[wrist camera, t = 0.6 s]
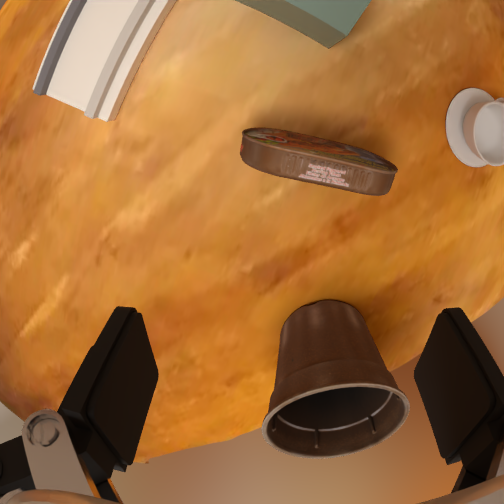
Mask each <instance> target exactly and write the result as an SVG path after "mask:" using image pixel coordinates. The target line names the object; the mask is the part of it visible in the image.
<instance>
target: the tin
mask: <svg viewBox="0 0 504 504" xmlns="http://www.w3.org/2000/svg"><path fill="white" fill-rule="evenodd" d="M242 135H243V138H242V144H241V150H240V155H241V158H242V160H243V161H244V162H245V163H246V164H247V165H249V166H251V167H253V168H255V169H257V170H259V171H262V172H265V173H268V174H272V175H275V176H279V177H284V178H289V179H294V180H299V181H304V182H309V183H314V184H318V185H323V186H328V187H333V188H337V189H342V190H346V191H351V192H356V193H361V194H366V195H374V196H380V195H385V194H387V193H388V192H389V190H390V188H391V186H392V183H393V180H394V177H395V174H396V172H397V171H398V169H397V167H396V166H395V165H394V164H392V163H391V162H389V161H387V160H386V159H384V158H382V157H380V156H378V155H376V154H373V153H371V152H369V151H366V150H363V149H360V148H357V147H353V146H350V145H346V144H342V143H338V142H334V141H330V140H325V139H321V138H317V137H312V136H308V135H303V134H299V133H294V132H288V131H283V130H277V129H268V128H250V129H246V130H243V132H242Z"/></svg>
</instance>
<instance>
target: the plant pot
mask: <svg viewBox="0 0 504 504" xmlns="http://www.w3.org/2000/svg"><path fill="white" fill-rule="evenodd" d="M409 409H410V407H409V402H408V399H407V397H406V395H405V394H404V393H403V392H402V391H401V390H400V389H399V388H398V386H397V384H396V382H395V380H394V378H393V376H392V375H391V373H390V372H389V371H388V370H387V368H386V366H385V364H384V362H383V360H382V358H381V356H380V353H379V351H378V349H377V347H376V345H375V343H374V340H373V338H372V336H371V334H370V332H369V330H368V328H367V326H366V323H365V321H364V319H363V317H362V315H361V314H360V313H359V311H358V310H357V309H355V308H354V307H352V306H350V305H349V304H346V303H343V302H339V301H333V300H323V301H318V302H317V303H315V304H313V305H309V306H303V307H301V308H299V309H298V310H296V311H295V312H294V313H292V314H291V315H290V317H289V318H288V319H287V320H286V322H285V323H284V325H283V327H282V330H281V334H280V346H279V354H278V363H277V371H276V379H275V387H274V391H273V393H272V395H271V398H270V403H269V410H268V413H267V415H266V416H265V418H264V420H263V424H262V434H263V437H264V439H265V441H266V442H267V443H268V444H269V445H270V446H272V447H273V448H275V449H276V450H278V451H280V452H283V453H285V454H288V455H292V456H296V457H302V458H316V459H320V458H333V457H340V456H345V455H349V454H352V453H356V452H360V451H362V450H365V449H368V448H371V447H373V446H375V445H377V444H379V443H381V442H382V441H384V440H386V439H387V438H389V437H390V436H391V435H392V434H394V433H395V432H396V431H397V430H398V429H399V428H400V427H401V426H402V425H403V423H404V422H405V420H406V418H407V416H408V414H409Z"/></svg>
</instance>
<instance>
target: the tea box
mask: <svg viewBox="0 0 504 504" xmlns="http://www.w3.org/2000/svg"><path fill="white" fill-rule="evenodd" d="M235 1H238V2H240V3H242V4H245V5H247V6H249V7H251V8H254V9H256V10H258V11H260V12H262V13H264V14H266V15H268V16H270V17H272V18H274V19H276V20H278V21H280V22H282V23H284V24H286V25H288V26H290V27H292V28H294V29H296V30H297V31H299V32H301V33H303V34H305V35H306V36H308V37H310V38H312V39H313V40H315V41H317V42H318V43H320V44H322V45H323V46H325V47H327V48H328V49H329V48H330V47H332V46H333V45H335V44H336V43H338V42H339V41H340V40H342V39H343V38H345V37H346V36H348V34H349V33H350V31H351V30H352V28H353V27H354V25H355V24H356V22H357V21H358V19H359V18H360V16H361V15H362V13H363V12H364V10H365V9H366V7H367V6H368V4H369V3H370V1H371V0H235Z"/></svg>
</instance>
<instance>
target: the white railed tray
mask: <svg viewBox="0 0 504 504" xmlns="http://www.w3.org/2000/svg"><path fill="white" fill-rule="evenodd" d="M176 1H177V0H70V2H69V4H68V6H67V7H66V9H65V11H64V13H63V15H62V17H61V20H60V22H59V24H58V26H57V28H56V30H55V32H54V35H53V37H52V39H51V41H50V44H49V46H48V49H47V51H46V53H45V56H44V58H43V61H42V64H41V66H40V69H39V72H38V74H37V77H36V80H35V83H34V86H33V89H34V92H33V93H35V94H38V95H48V96H50V97H53V98H55V99H57V100H60V101H62V102H64V103H66V104H69V105H71V106H73V107H75V108H78V109H80V110H82V111H84V112H85V113H84V115H85V116H87V117H90V118H92V119H94V118H100V119H102V120H104V121H106V122H108V121H112V120H115V118H116V116H117V114H118V111H119V109H120V107H121V104H122V102H123V100H124V98H125V95H126V93H127V91H128V89H129V87H130V84H131V82H132V80H133V78H134V76H135V74H136V72H137V70H138V68H139V66H140V64H141V62H142V60H143V58H144V56H145V54H146V52H147V50H148V48H149V47H150V45H151V43H152V41H153V39H154V37H155V36H156V34H157V32H158V30H159V29H160V27H161V25H162V23H163V22H164V20H165V18H166V17H167V15H168V13H169V12H170V10H171V9H172V7H173V5H174V4H175V2H176Z"/></svg>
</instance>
